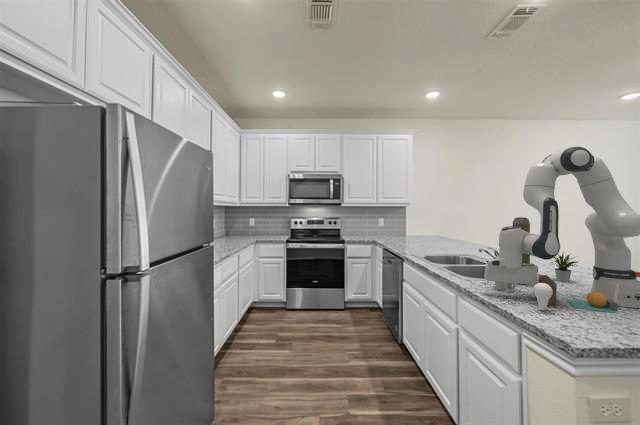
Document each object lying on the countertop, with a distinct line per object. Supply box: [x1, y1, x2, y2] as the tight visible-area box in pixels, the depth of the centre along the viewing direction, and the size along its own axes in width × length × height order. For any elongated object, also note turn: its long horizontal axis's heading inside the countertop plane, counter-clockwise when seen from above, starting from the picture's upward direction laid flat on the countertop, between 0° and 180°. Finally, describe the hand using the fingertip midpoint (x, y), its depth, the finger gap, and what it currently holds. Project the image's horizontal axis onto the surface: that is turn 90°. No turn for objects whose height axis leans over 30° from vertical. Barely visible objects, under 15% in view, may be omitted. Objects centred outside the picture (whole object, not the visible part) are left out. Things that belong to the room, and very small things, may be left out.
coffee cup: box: [494, 281, 513, 292], centre depth 142 cm, size 9×9×15 cm
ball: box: [586, 291, 607, 307], centre depth 117 cm, size 6×6×6 cm
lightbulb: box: [532, 283, 553, 312], centre depth 113 cm, size 6×6×11 cm
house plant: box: [549, 251, 579, 283], centre depth 156 cm, size 14×14×16 cm
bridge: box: [537, 274, 558, 308], centre depth 124 cm, size 3×15×10 cm, turn 154°
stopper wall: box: [604, 299, 618, 312], centre depth 115 cm, size 2×6×3 cm, turn 154°
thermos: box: [512, 216, 531, 286], centre depth 152 cm, size 9×12×35 cm
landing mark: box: [565, 298, 617, 314], centre depth 118 cm, size 12×12×1 cm
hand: (509, 292), depth 130 cm, fingers closed
